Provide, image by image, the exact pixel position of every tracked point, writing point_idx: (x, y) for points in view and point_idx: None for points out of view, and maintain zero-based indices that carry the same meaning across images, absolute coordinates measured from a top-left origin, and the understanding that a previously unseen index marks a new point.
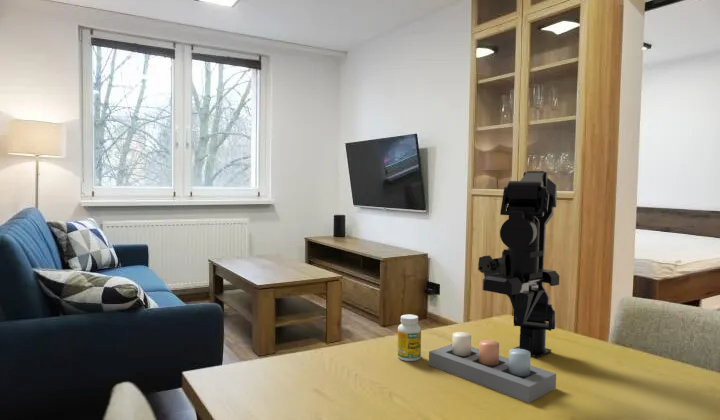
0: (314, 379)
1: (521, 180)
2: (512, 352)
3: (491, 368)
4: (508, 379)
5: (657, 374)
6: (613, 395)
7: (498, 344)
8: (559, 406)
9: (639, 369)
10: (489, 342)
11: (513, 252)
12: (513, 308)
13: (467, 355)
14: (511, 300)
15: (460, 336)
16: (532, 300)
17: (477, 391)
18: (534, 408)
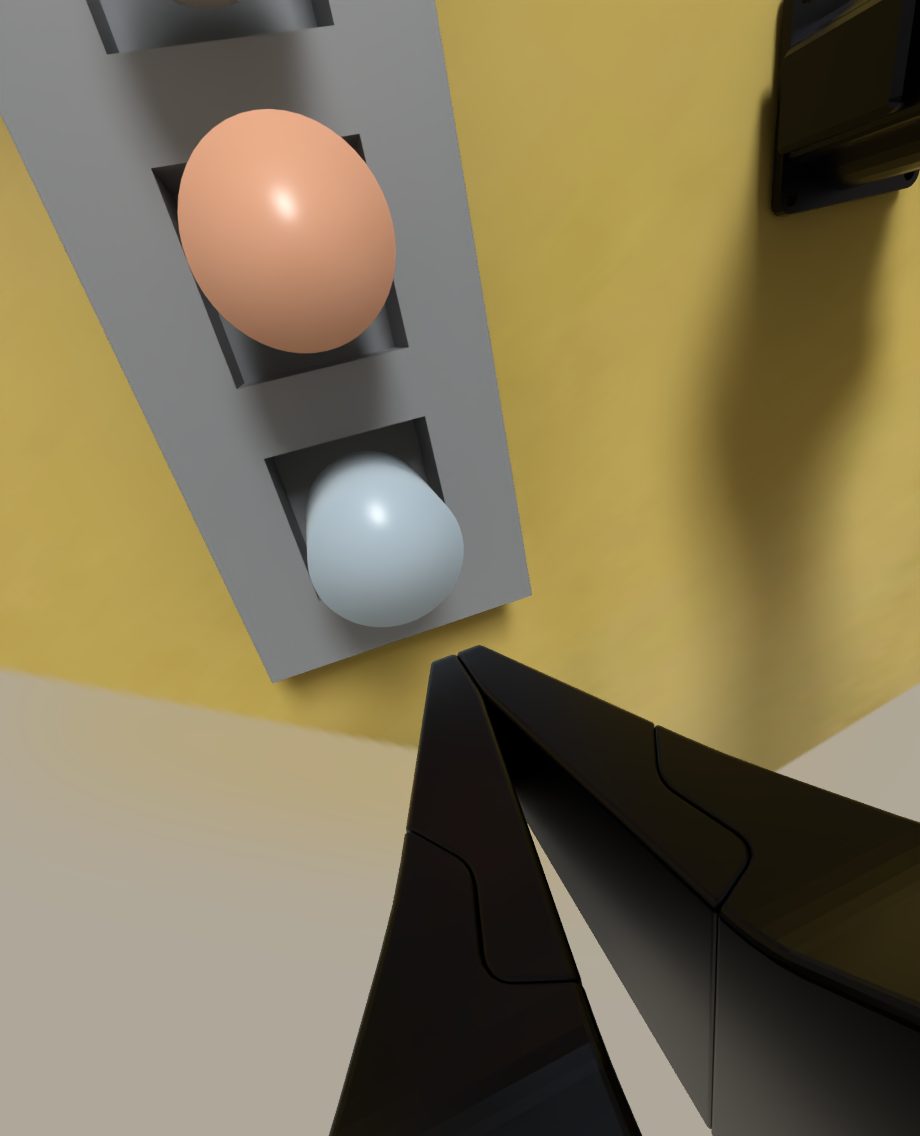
0: None
1: None
2: (326, 549)
3: (228, 390)
4: (225, 577)
5: (894, 594)
6: (627, 673)
7: (352, 333)
8: (378, 691)
9: (907, 541)
10: (304, 232)
11: None
12: (412, 820)
13: (192, 5)
14: (366, 1059)
15: None
16: (704, 1114)
17: (76, 441)
18: (265, 681)
